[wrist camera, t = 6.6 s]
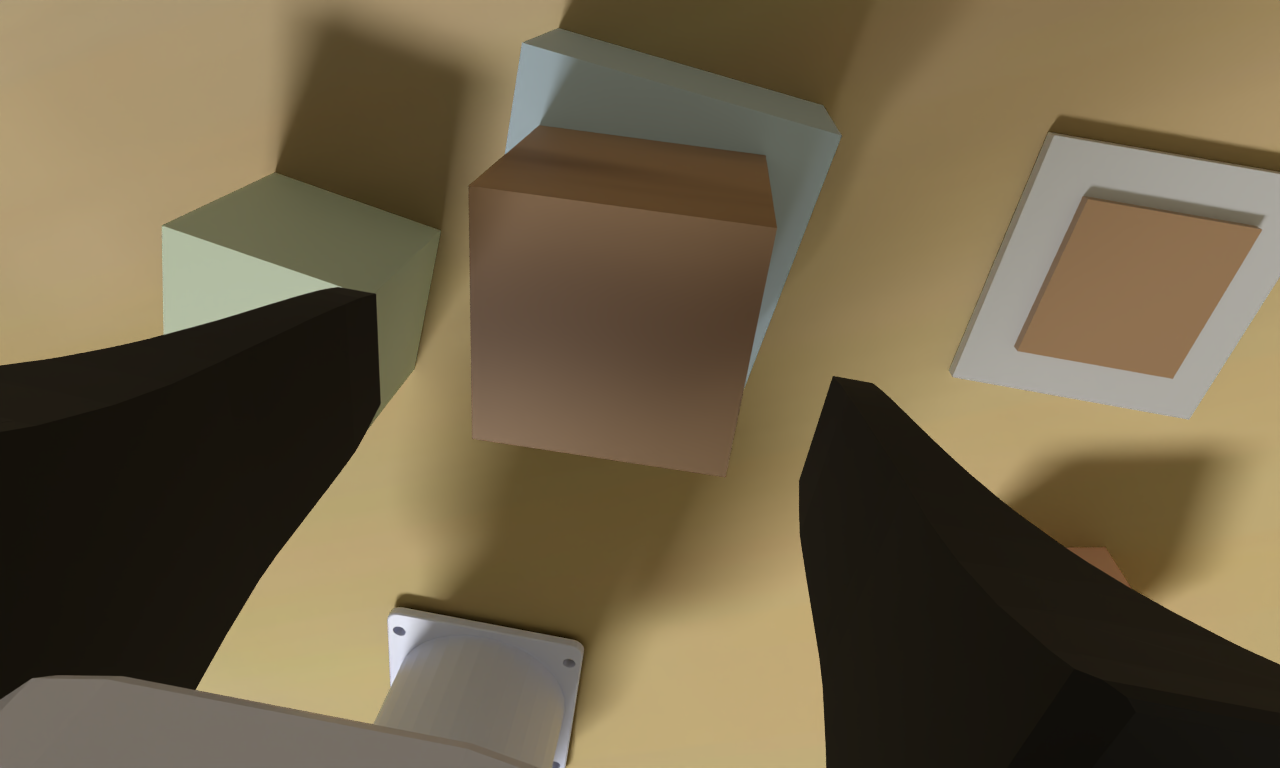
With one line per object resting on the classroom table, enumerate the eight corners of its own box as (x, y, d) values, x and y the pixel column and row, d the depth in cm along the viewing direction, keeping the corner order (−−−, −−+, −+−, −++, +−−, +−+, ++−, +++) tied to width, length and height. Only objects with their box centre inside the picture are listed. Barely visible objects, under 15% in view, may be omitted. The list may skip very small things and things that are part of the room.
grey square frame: (1182, 412, 22) (1194, 425, 21) (948, 370, 22) (955, 381, 22) (1327, 179, 18) (1347, 187, 18) (1048, 132, 19) (1058, 137, 18)
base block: (737, 335, 23) (738, 403, 19) (516, 274, 22) (477, 331, 19) (821, 103, 19) (841, 135, 16) (560, 27, 19) (522, 42, 15)
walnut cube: (727, 356, 19) (725, 477, 14) (532, 328, 19) (472, 438, 14) (765, 155, 16) (777, 228, 12) (539, 125, 16) (468, 186, 12)
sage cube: (415, 367, 24) (347, 456, 20) (267, 317, 24) (164, 396, 20) (442, 229, 22) (370, 297, 17) (276, 171, 21) (161, 225, 17)
